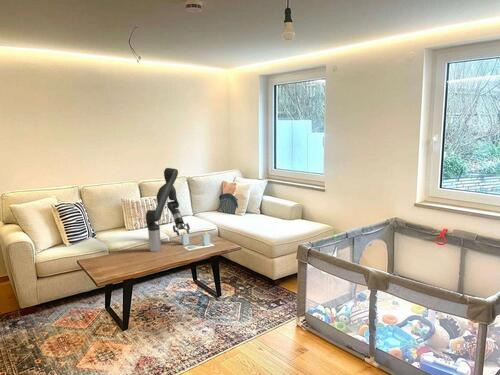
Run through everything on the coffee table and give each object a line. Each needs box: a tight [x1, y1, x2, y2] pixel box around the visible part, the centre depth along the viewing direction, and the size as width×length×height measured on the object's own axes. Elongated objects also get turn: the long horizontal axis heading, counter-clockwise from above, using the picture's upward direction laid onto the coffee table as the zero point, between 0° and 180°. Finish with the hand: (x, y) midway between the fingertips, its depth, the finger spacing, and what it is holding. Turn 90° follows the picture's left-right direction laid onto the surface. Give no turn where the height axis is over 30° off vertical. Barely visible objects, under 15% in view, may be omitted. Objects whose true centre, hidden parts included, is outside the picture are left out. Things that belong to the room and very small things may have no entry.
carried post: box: [180, 232, 190, 246], centre depth 324 cm, size 5×5×10 cm
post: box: [201, 232, 211, 246], centre depth 318 cm, size 5×5×10 cm
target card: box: [183, 242, 215, 251], centre depth 315 cm, size 23×12×1 cm, turn 120°
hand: (183, 234), depth 326 cm, fingers open, 8 cm apart
